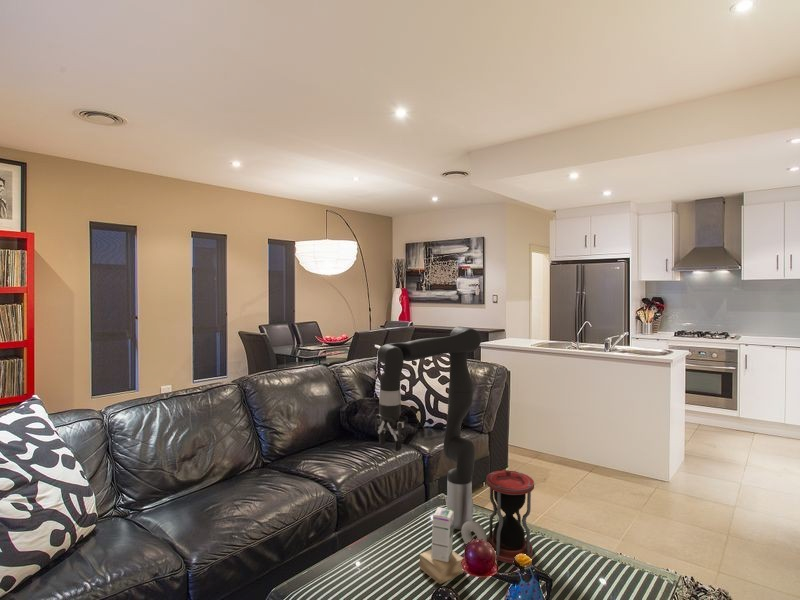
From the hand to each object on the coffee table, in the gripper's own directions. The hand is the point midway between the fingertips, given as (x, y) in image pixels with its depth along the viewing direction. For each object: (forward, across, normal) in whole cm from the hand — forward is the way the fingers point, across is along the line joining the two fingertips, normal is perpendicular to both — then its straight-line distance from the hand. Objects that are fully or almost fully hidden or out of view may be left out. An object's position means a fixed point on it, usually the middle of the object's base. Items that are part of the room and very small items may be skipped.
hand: (389, 447), depth 169 cm
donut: (+34, -23, -19) cm, 45 cm away
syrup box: (+30, -24, -2) cm, 38 cm away
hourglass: (+34, -31, -28) cm, 54 cm away
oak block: (+34, -24, -2) cm, 42 cm away
